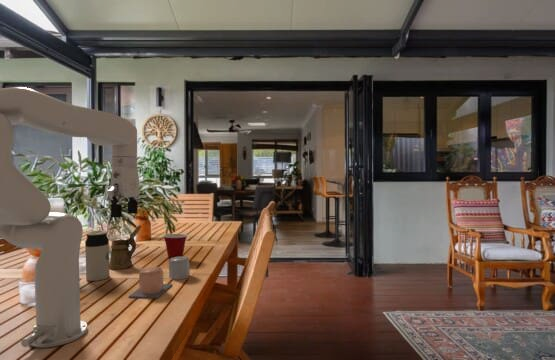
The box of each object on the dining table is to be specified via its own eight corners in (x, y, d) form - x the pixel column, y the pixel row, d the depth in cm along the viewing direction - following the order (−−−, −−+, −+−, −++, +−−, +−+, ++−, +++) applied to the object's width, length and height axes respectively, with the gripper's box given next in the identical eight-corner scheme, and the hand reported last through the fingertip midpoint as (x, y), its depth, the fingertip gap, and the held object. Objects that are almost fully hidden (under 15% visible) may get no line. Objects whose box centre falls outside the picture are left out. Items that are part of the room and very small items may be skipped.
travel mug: (81, 281, 126) (80, 234, 126) (93, 274, 134) (92, 230, 134) (102, 281, 126) (101, 234, 125) (113, 274, 134) (112, 230, 133)
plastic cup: (192, 257, 158) (191, 232, 158) (180, 264, 148) (179, 237, 147) (171, 256, 161) (171, 231, 161) (158, 262, 151) (158, 236, 150)
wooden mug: (137, 269, 141) (136, 227, 140) (104, 270, 140) (103, 227, 140) (145, 263, 150) (144, 223, 149) (114, 263, 149) (113, 223, 148)
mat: (157, 298, 110) (157, 297, 110) (128, 297, 111) (128, 296, 111) (172, 285, 122) (172, 284, 122) (145, 284, 123) (145, 283, 123)
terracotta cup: (156, 294, 112) (156, 273, 112) (136, 293, 113) (136, 273, 113) (165, 286, 119) (165, 267, 119) (146, 286, 120) (145, 266, 120)
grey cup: (185, 279, 128) (184, 261, 128) (167, 279, 129) (166, 261, 128) (191, 273, 135) (191, 256, 135) (174, 273, 136) (173, 256, 135)
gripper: (121, 161, 100) (121, 218, 101) (148, 163, 117) (148, 212, 118) (97, 161, 101) (97, 218, 101) (127, 163, 118) (128, 212, 118)
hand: (124, 215), depth 109 cm, fingers open, 9 cm apart
